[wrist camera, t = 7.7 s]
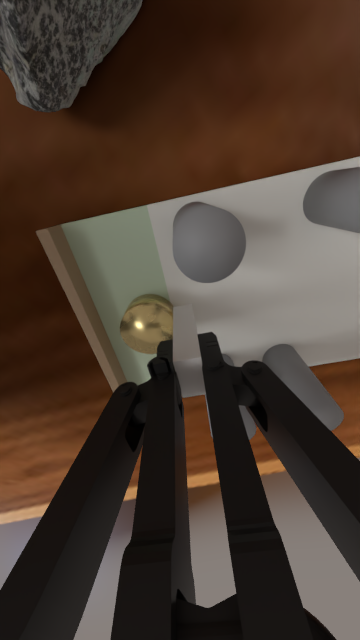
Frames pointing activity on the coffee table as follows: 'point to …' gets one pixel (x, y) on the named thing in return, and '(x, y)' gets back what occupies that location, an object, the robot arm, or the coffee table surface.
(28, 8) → the stone
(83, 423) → the coffee table surface
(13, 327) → the coffee table surface
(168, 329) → the brass dome
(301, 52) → the coffee table surface
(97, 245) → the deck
